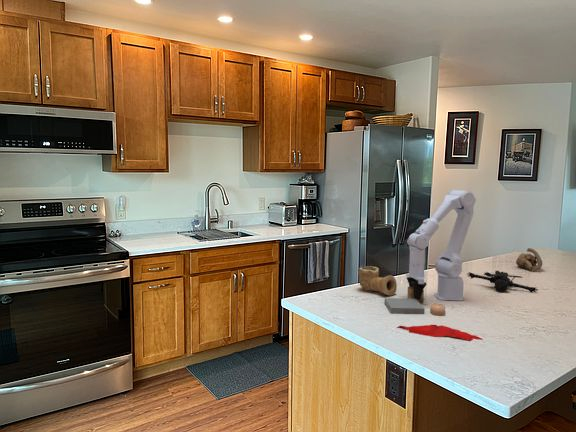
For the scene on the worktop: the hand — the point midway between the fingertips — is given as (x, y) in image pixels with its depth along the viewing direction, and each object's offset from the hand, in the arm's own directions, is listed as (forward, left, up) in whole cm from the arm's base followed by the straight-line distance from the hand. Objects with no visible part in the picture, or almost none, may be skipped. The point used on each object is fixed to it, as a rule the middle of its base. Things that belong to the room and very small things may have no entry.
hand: (415, 297), depth 170 cm
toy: (-46, -27, -2) cm, 53 cm away
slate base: (+7, +10, -1) cm, 12 cm away
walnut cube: (0, 0, -1) cm, 1 cm away
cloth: (+1, +33, -2) cm, 34 cm away
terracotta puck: (-4, +15, -2) cm, 16 cm away
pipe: (+14, -11, -2) cm, 18 cm away
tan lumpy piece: (-75, -60, -2) cm, 97 cm away
